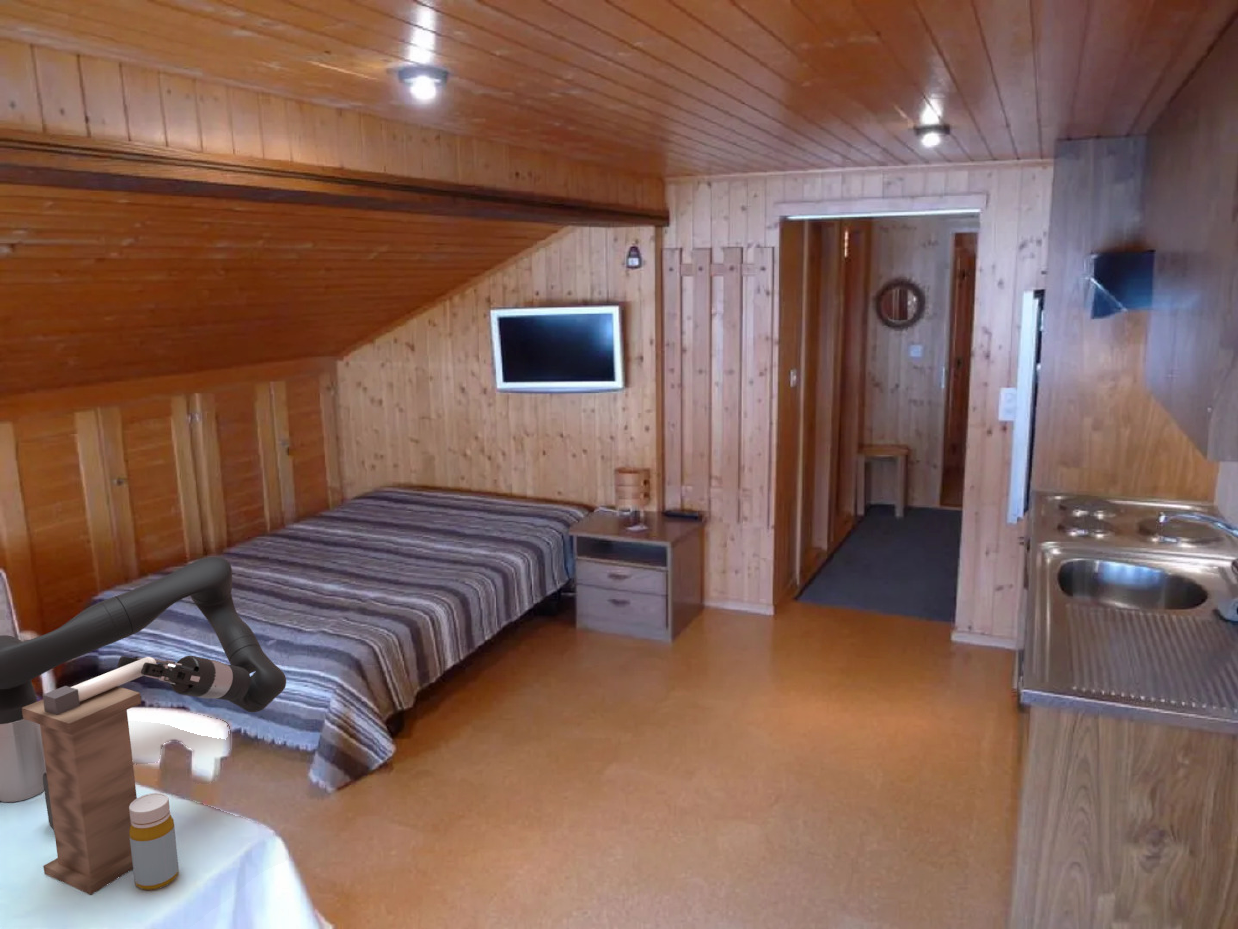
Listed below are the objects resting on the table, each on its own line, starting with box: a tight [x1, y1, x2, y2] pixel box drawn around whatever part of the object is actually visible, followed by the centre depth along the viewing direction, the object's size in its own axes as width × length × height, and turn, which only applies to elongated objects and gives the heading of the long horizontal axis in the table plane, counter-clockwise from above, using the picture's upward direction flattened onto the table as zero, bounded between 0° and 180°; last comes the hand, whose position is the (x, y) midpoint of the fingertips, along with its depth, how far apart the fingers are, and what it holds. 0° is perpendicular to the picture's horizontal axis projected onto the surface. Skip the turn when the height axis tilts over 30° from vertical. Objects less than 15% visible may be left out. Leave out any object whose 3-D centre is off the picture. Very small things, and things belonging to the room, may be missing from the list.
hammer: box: [42, 656, 158, 715], centre depth 164 cm, size 20×3×3 cm, turn 153°
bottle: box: [129, 792, 180, 891], centre depth 161 cm, size 7×7×15 cm
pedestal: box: [22, 686, 142, 896], centre depth 164 cm, size 13×13×32 cm
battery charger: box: [43, 773, 54, 830], centre depth 177 cm, size 7×4×11 cm, turn 48°
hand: (131, 665), depth 169 cm, fingers open, 6 cm apart
